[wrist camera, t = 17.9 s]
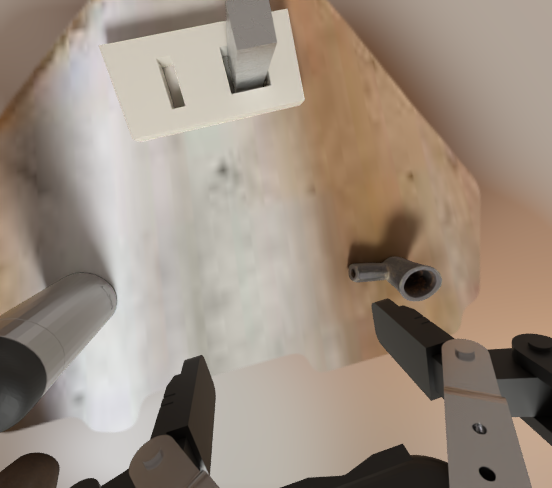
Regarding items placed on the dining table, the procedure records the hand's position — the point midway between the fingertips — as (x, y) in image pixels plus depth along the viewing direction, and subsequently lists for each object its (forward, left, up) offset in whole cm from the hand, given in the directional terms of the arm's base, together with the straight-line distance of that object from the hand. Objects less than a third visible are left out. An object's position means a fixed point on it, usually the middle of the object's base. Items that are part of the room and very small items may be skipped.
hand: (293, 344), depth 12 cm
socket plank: (0, +21, -33) cm, 39 cm away
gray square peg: (+5, +21, -33) cm, 39 cm away
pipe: (+21, -14, -33) cm, 42 cm away
